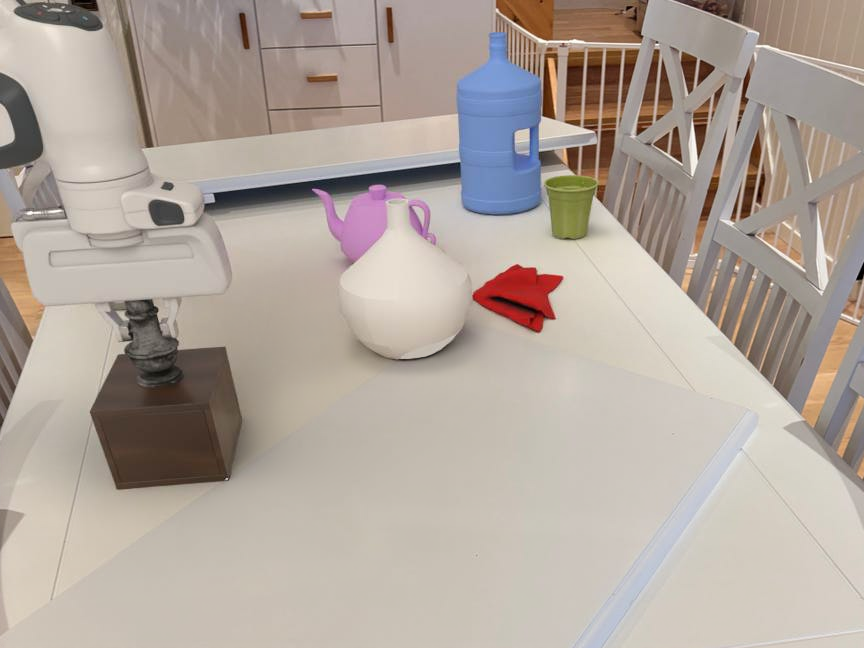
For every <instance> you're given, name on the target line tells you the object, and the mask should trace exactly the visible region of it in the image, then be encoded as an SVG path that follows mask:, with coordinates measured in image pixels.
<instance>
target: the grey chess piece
mask: <svg viewBox="0 0 864 648" xmlns="http://www.w3.org/2000/svg"><path fill="white" fill-rule="evenodd" d="M153 300H154V299H149V300H134V301H125V305H126V308H127V309H126V310H125V312H124V316H125V318H127V319H128V320H129V321H130V324H131V328H132V331H133V341H129V343H127V344H126V345H125V346H124V348H123V354H126V355H127V356H129V359H130V361H131V362H132V363H133V364H134V366H135V367H136V368H138V369H140V370H141V372H140V373H139V374H138V375H137V377H136V382H137V383H138V384H139V385H141V386H144V387H161V386H166V385H170V384H172V383H175V382H177V381H178V380H180V379H181V378H182V377H183V376H184V371H183V370H182V368H180V367H178V366H175V365H174V363H175V362H176V360H177V356H178V350H179V349H178V347H179V346H180V341H179V340H178V338H170V339H164V338H163V336H162V333H163V332H162V331H161V329H160V325H159V324H160V321H159V317H158V313H159V312H160V309H159V307H158V306H156V305H154V301H153Z"/></svg>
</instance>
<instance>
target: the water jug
mask: <svg viewBox="0 0 864 648" xmlns="http://www.w3.org/2000/svg"><path fill="white" fill-rule="evenodd" d="M507 36H508V33H507V32H505V31H495V32H489V33H488V37H489V44H488V50H489V58H488V61H487V62H485V63H484V64H483V65H481V66H479V67H478V68H476V69H475V70H473V71H471V72H469V73H468V74H467V75H465V76H463V77H461V78H460V79H459V80H458V81H457V82H456V93H455V94H456V97H455V99H456V108H457V120H458V141H459V142H458V156H459V163H460V165H459V166H460V184H461V190H460V198H461V204H462V205H463V207H464V208H465V209H467V210H468V211H471V212H473V213H477V214H483V215H494V216H497V215H498V216H499V215H512V214H518V213H524V212H528V211H529V210H532V209H534V208H535V207H537V206H538V205H539V204H540V203H541V201H542V161H541V160H540V153H539V152H540V136H539V135H540V124H541V122H542V107H543V106H542V105H543V89H542V80H541V78H540V77H539V76H538V75H536V74H534V73H532V72H530V71H528V70H527V69H524V68H523V67H521V66H519V65H518V64H515V63H513V62H512V61H510V60H509V59H508V58H509V57H508V54H507V52H508V51H507V48H508V44H507ZM527 129H528V130H529V154H523V153H522V154H521V153H518V152H516V132H518V131H522V130H523V131H524V130H527Z"/></svg>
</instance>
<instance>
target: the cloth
mask: <svg viewBox="0 0 864 648" xmlns="http://www.w3.org/2000/svg"><path fill="white" fill-rule="evenodd" d="M563 278H564V275H559V274H549V273H541V274H539V273H538V270H537V267H535V266H530V267H529V266H527V267H523V266H522V265H520V264H518V263H516V264H513V265H511V266H510V267H508V268H507V269H506V270H505V271H502V272H499V273H498V274H497V275H496V276H495V277H493V278H491V279H489V280H487V281H486V282H484V284H483V285H482V286H481V287H479V288H477V289H476V290H475V291H473V292H472V300H474V301H475V302H477V303H478V304H480V305H482V306H483V307H485V308H487V309H489V310H491V311H493V312H495V313H497V314H500V315H502V316H505V317H507V318H509V319H510V320H512V321H514V322H517V323H518V324H521V325H523V326H524V327H527V328H529V329H531V330H533V331H535V332H541V331H542V329H543V325H544V318H545V317H546V318H548V319H552V320H556V315H555V313H554V309H553V307H552V305H551V302H550V299H549V295H548V293H550V292H552V291H554V290H555V289H556V288H557V287H558V286H559V284H561V282H562V281H563ZM544 316H545V317H544Z"/></svg>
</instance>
